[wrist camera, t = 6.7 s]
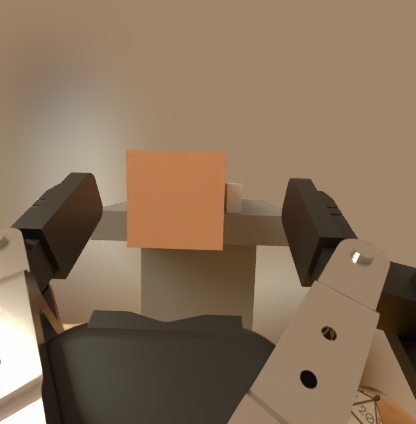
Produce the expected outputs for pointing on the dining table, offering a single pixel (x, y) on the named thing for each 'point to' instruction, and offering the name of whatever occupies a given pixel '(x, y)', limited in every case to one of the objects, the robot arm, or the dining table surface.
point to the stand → (203, 262)
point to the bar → (175, 199)
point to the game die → (365, 410)
